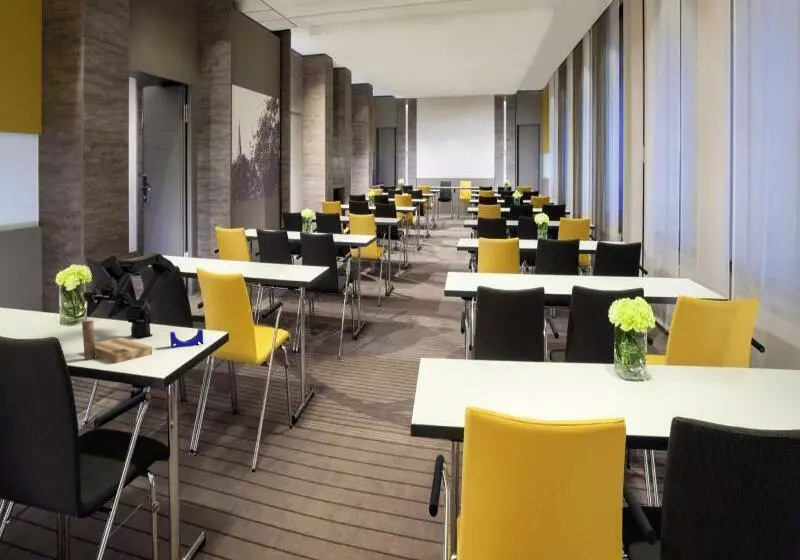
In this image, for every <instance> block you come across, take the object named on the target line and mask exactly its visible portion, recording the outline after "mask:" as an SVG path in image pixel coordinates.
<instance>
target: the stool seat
mask: <svg viewBox="0 0 800 560" xmlns="http://www.w3.org/2000/svg"><path fill="white" fill-rule="evenodd" d="M95 353H96V357H98V356H99V357H98V358H101V359H103V358H104V360H106V359H107V361H109V360H110V362H113V363H115V364H117V363H122V362H126V361H131V360H134V359H139V358H142V357H146V356H151V355H153V345H152V346H150V345H148V344H144V343H141V342H138V341H134V340H131V339H128V338H124V337H116V338H113V339H107V340H103V341H98V342H95Z"/></svg>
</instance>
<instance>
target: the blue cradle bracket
mask: <svg viewBox="0 0 800 560" xmlns="http://www.w3.org/2000/svg"><path fill="white" fill-rule="evenodd" d="M169 336H170V337H169V338H170V340H169V341H170V348H171V349H175V348H185V347H186V346H187V347H194V346H193V345H196V346H200V345H199V344H198V342H200V343H201V344H203V345H204V330H203V329H202V328H199V329H197V332H196V335H194V336H193V337H192V338H190V339H186V340H185V341H184V340H180V339H178V337H177V336H176V332H175V331H170V332H169Z"/></svg>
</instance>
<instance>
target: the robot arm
mask: <svg viewBox="0 0 800 560" xmlns="http://www.w3.org/2000/svg"><path fill="white" fill-rule="evenodd" d="M149 266H150V268H151V269H152V276H151V278H150V279H149V282H148V283H147V285H145V288H144V290H143V291H142V293H141V295H140V296H139V298H137V299H133V298H132V296H130V294H129V293H126V291H125V288H126V286H128V284H129V285H132V284H133V280H132V277H130V275H137V274H139V273H140V272H141V271H142V269H143V268H146V267H149ZM100 267H101V269H103V271H104V272H105V273H106V275H107V276H108V278H109V280H107V279H95V284H94V289H97V290H99V293H100V295H99V294H98V293H97V292H96V291H90V290H89V291H88V290H87V291H85V292H84V293H83V295H82V297H83V299H84V300H85V301H86V302H87V308H86V314H85V316H86V317H91V315H92V314H93V313H94V312H95V311H96V310H97V309H98V308H99V307H100V306H99V305H100V304H101V303H102V302H108V303H113V306H112V308H111V309H110V311H109V313H108V315H107V317H108V318H109V319H111V318H113V317H115V316H116V315H118V314H120V313H122V312H123V311H124V310H125V316H126V319H127V322H128V323H131V327H130V330H131V331H130V333H131V334H130V337H131V336H132V338H135V339H143V338H149V337H153V335H154V334H153V333H151V323H152V322H153V321H154V315H153V314H152V313H151V308H150V305H151V303H152V302H153V300H154V298H155V297H156V294H157V293H158V291H159V289H160V288H161V287H162V285H163V283H164V282H165V281H167V280H168V279H170V278H171V277H172V276H173V275H174V273H175V271H176V266H175V265H174V263H173V262H172V261H171V260H170V259H168V258H166V257H165V256H163V254H161V253H158V252H157V253H156V252H155V253H153V252H152V253H149V254H147V255H143V256H140V257H137V258H134V259H120V260H118V258H117V256H116V255H110V257H108V258H106V259H103V260H102V261H101V263H100Z"/></svg>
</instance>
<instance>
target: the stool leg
mask: <svg viewBox="0 0 800 560" xmlns="http://www.w3.org/2000/svg"><path fill="white" fill-rule="evenodd" d="M81 325H82V326H81V327H82V328H81V329H82V339H83V353H84V360H85V361H93V360H96V359H97V356H96V353H95V343H96V341H95V329H94V328H95V327H94V321H93V320H84V321H82V322H81ZM95 358H96V359H95ZM92 359H93V360H92Z"/></svg>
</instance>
